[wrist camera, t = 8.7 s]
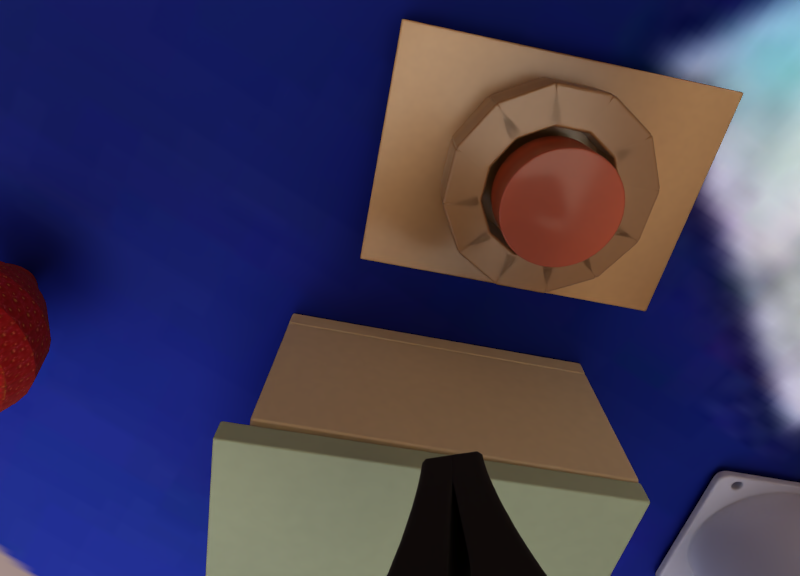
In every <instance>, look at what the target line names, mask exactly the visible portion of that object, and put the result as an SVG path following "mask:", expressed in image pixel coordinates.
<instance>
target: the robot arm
mask: <svg viewBox="0 0 800 576" xmlns="http://www.w3.org/2000/svg"><path fill="white" fill-rule="evenodd" d="M655 575H656V576H800V483H799V482H793V481H787V480H781V479H774V478H768V477H762V476H756V475H750V474H744V473H738V472H732V471H721V472H718V473H717V474H716V475H715V476H714V477H713V479H712V480H711V482H710V484H709V485H708V487H707V489H706V490H705V492H704V493H703V495H702V497H701V498H700V500H699V502H698V503H697V505H696V507H695V508H694V510H693V512H692V513H691V515H690V517H689V518H688V520H687V522H686V523H685V525H684V527H683V528H682V530H681V531H680V533H679V535H678V536H677V538H676V540H675V541H674V543H673V545H672V546H671V548H670V550H669V551H668V553H667V555H666V556H665V558H664V560H663V561H662V563H661V565H660V566H659V568H658V569H657V571H656V574H655ZM387 576H547V575H546V573H545V572H544V571H543V569H542V568H541V566H540V565H539V563H538V562H537V560H536V559H535V558H534V556H533V554H532V553H531V551H530V550H529V548H528V547H527V545H526V544H525V542H524V541H523V539H522V537H521V536H520V534H519V533H518V531H517V529H516V528H515V526H514V524H513V522H512V520H511V519H510V517H509V515H508V513H507V512H506V510H505V508H504V506H503V504H502V502H501V501H500V499H499V497H498V495H497V492H496V490H495V488H494V486H493V484H492V482H491V479H490V477H489V474H488V472H487V469H486V466H485V463H484V459H483V454H481V453H479V452H478V451H475V452H468V453H461V454H455V455H448V456H441V457H435V458H428V459H425V460H424V461H423V463H422V467H421V473H420V478H419V483H418V487H417V491H416V495H415V498H414V502H413V505H412V509H411V512H410V515H409V518H408V521H407V524H406V527H405V530H404V533H403V536H402V539H401V542H400V544H399V547H398V549H397V552H396V554H395V557H394V559H393V562H392V564H391V567H390V569H389V572H388V574H387Z"/></svg>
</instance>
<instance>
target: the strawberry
mask: <svg viewBox="0 0 800 576" xmlns="http://www.w3.org/2000/svg"><path fill="white" fill-rule="evenodd" d="M50 342H51V337H50V329H49V322H48V314H47V307H46V302H45V300H44V298H43V295H42V294H41V292H40V290H39V289H38V284H37V281H36V279H35V277H34V275H33V274H32V273H31V272H29V271H28V270H26V269H25V268H23V267H21V266H18V265H14V264H9V263H4V262H1V261H0V412H1V411H3V410H5V409H6V408H8V407H10V406H11V405H13V404H15V403H16V402H17V401H19V400H20V399H21V398H22V397H23V396H24V395H26V394H27V392H28V390H29V389H30V387H31V385H32V384H33V382H34V380H35V378H36V376H37V374H38V372H39V370H40V368H41V366H42V364H43V362H44V360H45V358H46V356H47V354H48V352H49V347H50Z"/></svg>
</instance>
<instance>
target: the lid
mask: <svg viewBox="0 0 800 576" xmlns="http://www.w3.org/2000/svg"><path fill="white" fill-rule="evenodd" d="M441 456H448V455H445V454H439V453H432V452H425V451H418V450H412V449H405V448H398V447H391V446H385V445H378V444H371V443H364V442H358V441H351V440H344V439H338V438H331V437H324V436H317V435H311V434H304V433H297V432H290V431H284V430H277V429H270V428H264V427H257V426H250V425H243V424H237V423H230V422H223V421H222V422H221V423H220V424H219V427H218V429H217V431H216V433H215V435H214V438H213V449H212V467H211V486H210V505H209V523H208V542H207V561H206V576H387V574H388V572H389V569H390V567H391V564H392V562H393V559H394V557H395V554H396V552H397V549H398V547H399V544H400V542H401V539H402V536H403V533H404V530H405V527H406V524H407V521H408V518H409V515H410V512H411V509H412V505H413V502H414V498H415V495H416V491H417V487H418V483H419V478H420V473H421V467H422V463H423V461H424V460H425V459H428V458H435V457H441ZM484 463H485V466H486V469H487V472H488V474H489V477H490V479H491V482H492V484H493V486H494V488H495V490H496V492H497V495H498V497H499V499H500V501H501V502H502V504H503V506H504V508H505V510H506V512H507V513H508V515H509V517H510V519H511V520H512V522H513V524H514V526H515V528H516V529H517V531H518V533H519V534H520V536H521V537H522V539H523V541H524V542H525V544H526V545H527V547H528V548H529V550H530V551H531V553H532V554H533V556H534V558H535V559H536V560H537V562H538V563H539V565H540V566H541V568H542V569H543V571H544V572H545V573H546V575H547V576H610V575H611V573H612V571H613V569H614V567H615V566H616V564H617V562H618V560H619V558H620V557H621V555H622V553H623V551H624V549H625V547H626V546H627V544H628V542H629V540H630V538H631V537H632V535H633V533H634V531H635V529H636V527H637V526H638V524H639V522H640V520H641V518H642V517H643V515H644V513H645V511H646V509H647V508H648V506H649V504H650V501H649V499H648V497H647V495H646V493H645V491H644V489H643V487H642V486H641V484H639V483H634V482H627V481H620V480H614V479H607V478H600V477H593V476H587V475H580V474H573V473H566V472H560V471H553V470H546V469H539V468H533V467H526V466H519V465H513V464H506V463H499V462H492V461H486V460H484Z"/></svg>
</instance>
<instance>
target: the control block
mask: <svg viewBox="0 0 800 576" xmlns="http://www.w3.org/2000/svg"><path fill="white" fill-rule="evenodd" d="M742 95H743V93H742V92H738V91H734V90H729V89H724V88H720V87H715V86H711V85H706V84H701V83H697V82H692V81H688V80H683V79H678V78H674V77H669V76H665V75H660V74H655V73H651V72H646V71H642V70H637V69H632V68H628V67H623V66H619V65H614V64H609V63H605V62H600V61H595V60H591V59H586V58H582V57H577V56H572V55H568V54H563V53H559V52H554V51H549V50H545V49H540V48H536V47H531V46H526V45H522V44H517V43H513V42H508V41H503V40H499V39H494V38H490V37H485V36H480V35H476V34H471V33H466V32H462V31H457V30H453V29H448V28H443V27H439V26H434V25H430V24H425V23H420V22H416V21H411V20H407V19H402V22H401V27H400V33H399V39H398V45H397V50H396V56H395V62H394V67H393V73H392V79H391V85H390V90H389V96H388V102H387V107H386V113H385V119H384V125H383V130H382V136H381V142H380V147H379V153H378V159H377V164H376V170H375V176H374V182H373V187H372V193H371V199H370V204H369V210H368V216H367V222H366V227H365V233H364V239H363V244H362V250H361V256H360V258H361V259H365V260H371V261H376V262H382V263H387V264H393V265H398V266H403V267H409V268H414V269H420V270H425V271H431V272H436V273H441V274H447V275H452V276H458V277H463V278H469V279H474V280H479V281H485V282H490V283H496V284H498V285H503V286H508V287H514V288H519V289H525V290H530V291H536V292H541V293H550V294H555V295H561V296H566V297H572V298H577V299H583V300H588V301H593V302H599V303H604V304H610V305H615V306H621V307H626V308H631V309H637V310H642V311H646V309H647V307H648V305H649V302H650V300H651V298H652V296H653V294H654V291H655V289H656V287H657V285H658V282H659V280H660V278H661V276H662V274H663V271H664V269H665V267H666V265H667V262H668V260H669V258H670V256H671V253H672V251H673V249H674V247H675V245H676V242H677V240H678V238H679V236H680V233H681V231H682V229H683V227H684V225H685V222H686V220H687V218H688V216H689V213H690V211H691V209H692V207H693V204H694V202H695V200H696V198H697V196H698V193H699V191H700V189H701V187H702V184H703V182H704V180H705V178H706V175H707V173H708V171H709V169H710V167H711V164H712V162H713V160H714V158H715V155H716V153H717V151H718V149H719V147H720V144H721V142H722V140H723V138H724V135H725V133H726V131H727V129H728V126H729V124H730V122H731V120H732V118H733V115H734V113H735V111H736V109H737V106H738V104H739V102H740V100H741V98H742ZM547 136H563V137H569V138H572V139H575V140H577V141H580V142H582V143H583V144H585V145H586V146H588V147H589V148H591V149H592V150H594V151H595V152H597V153H598V154H600V155H601V156H603V157H604V158H605V159H607V160H608V161H609V162H610V163H611V164H612V165H613V166H614V168H615V169H616V170H617V172H618V174H619V175H620V178H621V180H622V182H623V186H624V190H625V208H624V214H623V217H622V220H621V223H620V225H619V227H618V229H617V231H616V233H615V234H614V236H613V237H612V238H611V240H610V241H609V242H608V243H607V244H606V245H605V246H604V247H603V248H602V249H601V250H600V251H599V252H597V253H596V254H595V255H593V256H592V257H590V258H588V259H586V260H584V261H582V262H580V263H577V264H574V265H570V266H565V267H544V266H539V265H535V264H533V263H530V262H528V261H526V260H524V259H522V258H521V257H520V256H518V255H517V254H516V253H515V252H514V251H513V250H512V249H511V248H510V247H509V245H508V244H507V243H506V241H505V239H504V237H503V235H502V233H501V230H500V228H499V226H498V224H497V222H496V219H495V217H494V214H493V211H492V206H491V190H492V185H493V181H494V179H495V176H496V174H497V172H498V170H499V168H500V166H501V165H502V163H503V162H504V161H505V160H506V158H507V157H508V156H509V155H510V154H511V153H512V152H514V151H515V150H516V149H517V148H519V147H520V146H522V145H524V144H525V143H527V142H530V141H532V140H534V139H538V138H541V137H547Z"/></svg>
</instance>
